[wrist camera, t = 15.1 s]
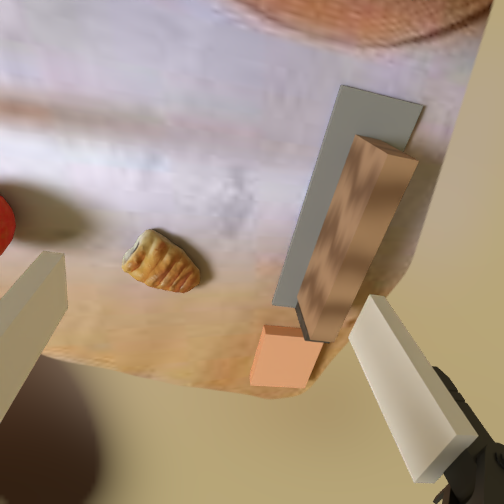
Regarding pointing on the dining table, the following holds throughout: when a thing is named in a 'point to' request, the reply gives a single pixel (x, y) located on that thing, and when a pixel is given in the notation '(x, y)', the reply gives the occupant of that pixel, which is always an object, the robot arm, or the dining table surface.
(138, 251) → the pastry
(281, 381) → the tile
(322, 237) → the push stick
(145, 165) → the dining table surface
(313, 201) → the mat
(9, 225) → the red vase
